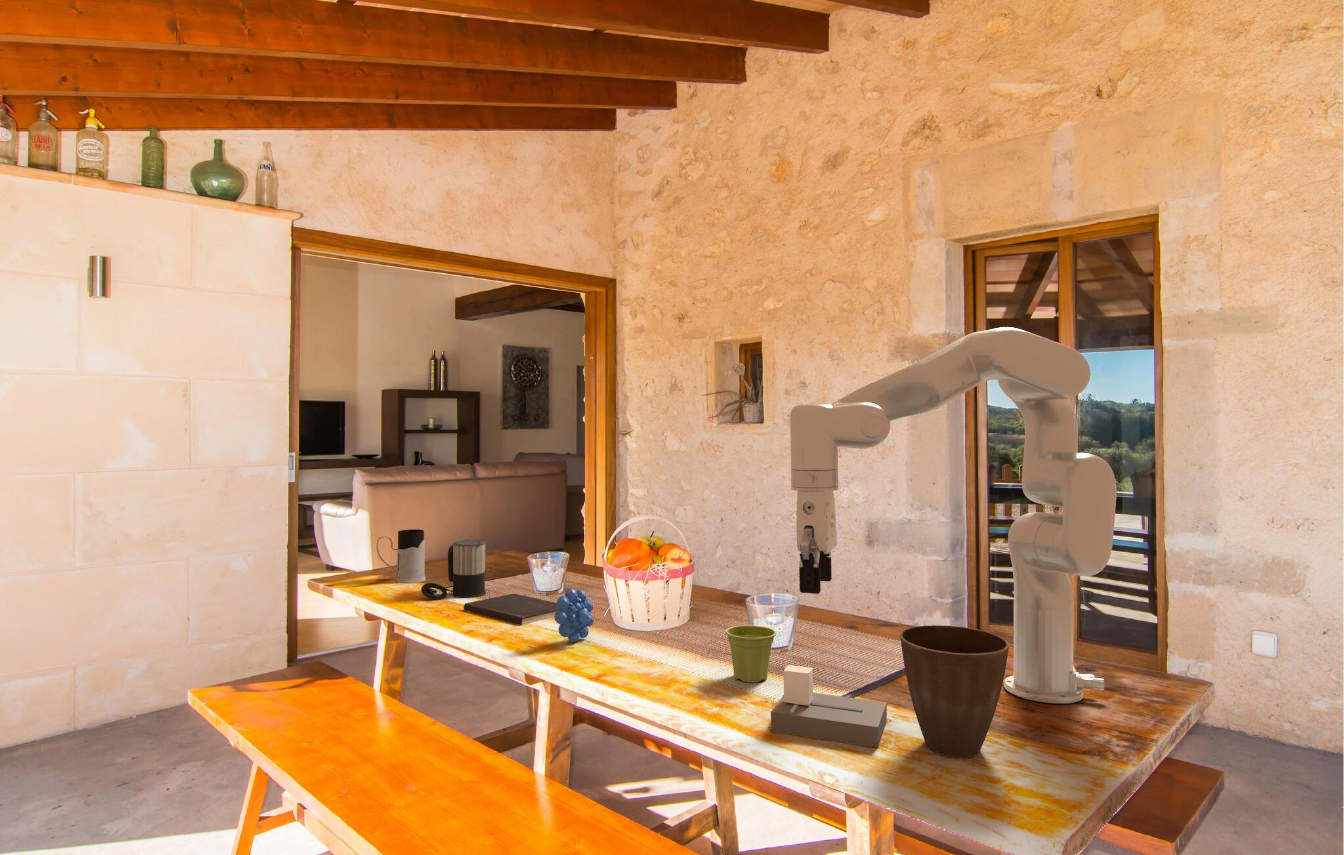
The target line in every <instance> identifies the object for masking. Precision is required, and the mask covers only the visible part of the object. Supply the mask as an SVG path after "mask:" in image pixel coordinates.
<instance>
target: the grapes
mask: <svg viewBox="0 0 1344 855" xmlns="http://www.w3.org/2000/svg"><path fill="white" fill-rule="evenodd" d="M587 595H588V594H587V592H586V591H585V590H584V589H581V588H580V589H577V590H576V589H575V588H573V587H568V588H567V589H566V590H565V592H564V595H561V596H559V597H558V598H557V600H556V603H557V606H558V607H559V609H561V610H558V611H556V613H555V615H554V617H553V619H554V621H555V622H556V624H559V626H558V629H557V631H558V633H559V636H562V637H563V638H567V639H568V641H569V642H571V643H576V642H579V640H580V639H586V638H587V637H588V635H589V632H590V631H589V628H588V627H591V626H593V624H594V622H595V618H594V616H593V615H592V613H590V612H592V611H593V609H594V604H593V602H592V600H590V599H589V598H588V596H587Z"/></svg>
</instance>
